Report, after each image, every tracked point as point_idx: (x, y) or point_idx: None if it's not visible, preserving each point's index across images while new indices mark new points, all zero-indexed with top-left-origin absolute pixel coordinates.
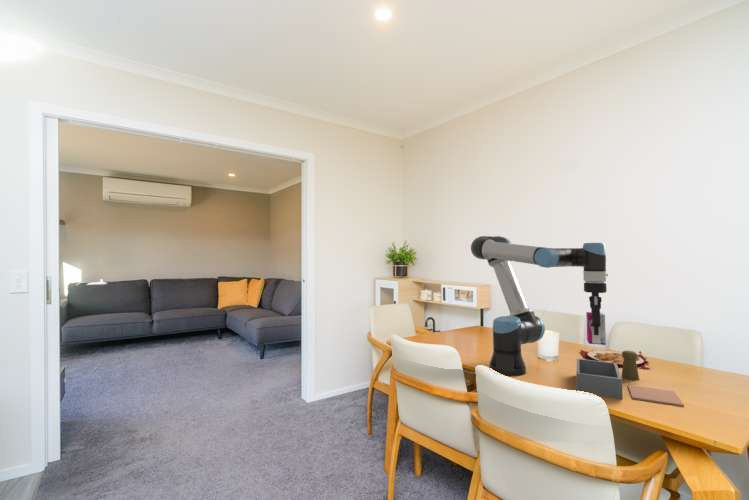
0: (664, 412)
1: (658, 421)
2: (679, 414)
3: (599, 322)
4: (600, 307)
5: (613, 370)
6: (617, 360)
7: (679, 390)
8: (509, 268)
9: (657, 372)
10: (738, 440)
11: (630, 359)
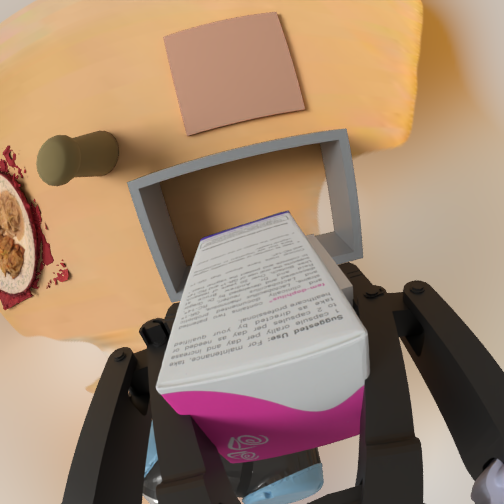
0: (351, 50)
1: (409, 71)
2: (340, 26)
3: (436, 298)
4: (421, 448)
5: (148, 185)
6: (11, 221)
7: (134, 36)
8: None
9: (19, 125)
10: None
11: (80, 150)
